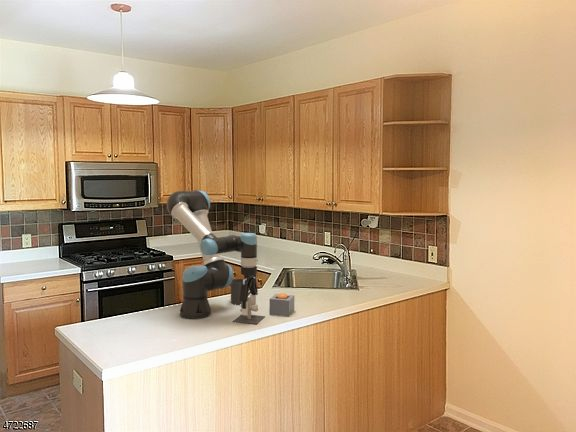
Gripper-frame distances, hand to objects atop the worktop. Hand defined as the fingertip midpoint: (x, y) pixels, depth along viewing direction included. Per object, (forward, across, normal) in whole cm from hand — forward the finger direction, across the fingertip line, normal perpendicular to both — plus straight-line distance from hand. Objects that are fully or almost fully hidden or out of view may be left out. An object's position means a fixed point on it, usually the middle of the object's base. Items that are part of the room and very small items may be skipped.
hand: (248, 311), depth 234 cm
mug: (+4, +28, +14) cm, 32 cm away
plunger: (-3, +15, -12) cm, 19 cm away
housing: (+4, +15, -12) cm, 20 cm away
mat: (+4, 0, 0) cm, 4 cm away
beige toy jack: (+4, 0, 0) cm, 4 cm away
